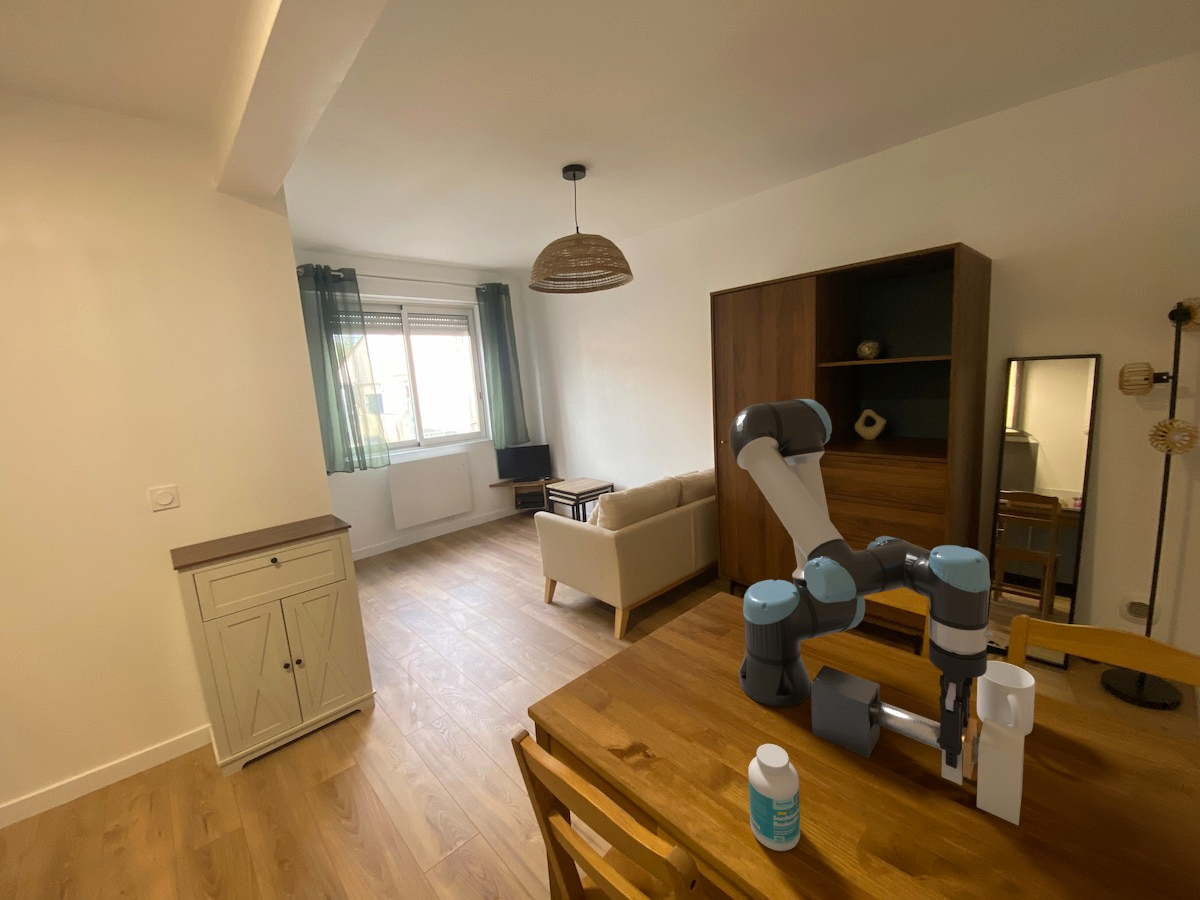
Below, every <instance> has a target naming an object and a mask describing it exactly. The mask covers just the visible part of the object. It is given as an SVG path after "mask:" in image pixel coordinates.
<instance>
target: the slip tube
mask: <svg viewBox="0 0 1200 900" xmlns="http://www.w3.org/2000/svg"><path fill="white" fill-rule="evenodd" d="M870 722H872V723H875V724H877V725H879V727H883V728H885V729H887V730H890V731H892V732H895V733H898V734H900V735H903V736H905V737H908V738H910V739H913V740H915V741H918V742H920V743H922V744H924V745H928V746H930V747H933V748H936V749H937V750H940V751H942V749H941V748H940V745H939V743H937V742H936V740H937V738H940V722H938V721H935V720H932V719H929V718H928V717H924V716H922V715H919V714H917V713H913V712H910V711H908V710H905V709H902V708H901V707H897V706H894V705H891V704H888V703H886V702H883V701H881V700H879V701H878V700H875V699H874V700H873V701H872V703H871V705H870ZM977 735H978V720H977V719H975V718H971V717H969V718H968V726H967V728H966V732H963V731H962V747H963V777H964V778H967V779H969V780H971V779H972V775H973V770H974V766H975V765H978V749H979V739H980V736H977Z"/></svg>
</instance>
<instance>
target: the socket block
mask: <svg viewBox="0 0 1200 900" xmlns="http://www.w3.org/2000/svg"><path fill="white" fill-rule="evenodd" d="M979 737H980V739H979V749H978V764H977V785H976V788H977V791H976V792H977V794H976V808H978V809H980V810H982V811H985V812H987V813H989V814H991V815H994V816H995V817H998V818H1001V819H1002V820H1004V821H1007V822H1009V823H1011V824H1014V825H1016V826H1019V825H1020V814H1021V805H1022V804H1021V803H1022V795H1023V793H1022V792H1023V778H1024V777H1023V776H1024V752H1025V737H1026V735H1025V731H1023V730H1020V729H1017V728H1015V727H1012V726H1009V725H1006V724H1003V723H1000V722H997V721H994V720H991V719H988V718H985V717H984V721H983V722H982V726H981V730H980V736H979Z"/></svg>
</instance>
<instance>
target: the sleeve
mask: <svg viewBox="0 0 1200 900" xmlns="http://www.w3.org/2000/svg"><path fill="white" fill-rule="evenodd" d="M810 694H811V695H810V698H811V729H812V731H811V732H812V735H815V736H817V737H819V738H821V739H824V740H825V741H828V742H830V743H833V744H834V745H837V746H839V747H842V748H844V749H846V750H848V751H851V752H853V753H855V754H857V755H860V756H861V757H864V758H866V759H870V757H871V754H872V752H873V750H874V748H875V746H876V745H877V742H878V740H879V738H880V725H877V724H875V723H872V722H870V705H871V703H872V701H873V700H874V699H875V700H878V701H880V683H877V682H874V681H872V680H870V679H865V678H863V677H860V676H857V675H853V674H851V673H848V672H845V671H842V670H840V669H836V668H834V667H830V666H828V665H823V666H821V668H820V670H819V671H818V673H816V675H815V677H814V678H813V679H812V681H810Z"/></svg>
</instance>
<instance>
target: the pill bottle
mask: <svg viewBox="0 0 1200 900" xmlns="http://www.w3.org/2000/svg"><path fill="white" fill-rule="evenodd" d="M747 770H748V771H747V772H748V793H749V797H748V798H749V800H748V801H749V821H750V827H751V831H752V833H753V835H754V837H755V838H756V839H757V840H758V841H759V842H760V843H761V844H762V845H763V846H765V847H766V848H769V849H771V850H773V851H776V852H777V851H778V852H787V851H789V850H791V849H793V848H795V847H796V846H797V844H798V843H799V840H800V838H801V811H800V807H801V806H800V779H799V773H798V772H797V770H796V768H795V767H794V765H793V764H792V763H791V762H790V757H789V755H788V753H787V751H786V750H785V749H784V748H782V747H781V746H779V745H777V744H773V743H765V744H762V745H760V746H758V748H757V749H756V756H755V757H754V758H753V759H752V760H751V761H750V762H749V766H748V769H747Z"/></svg>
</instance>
